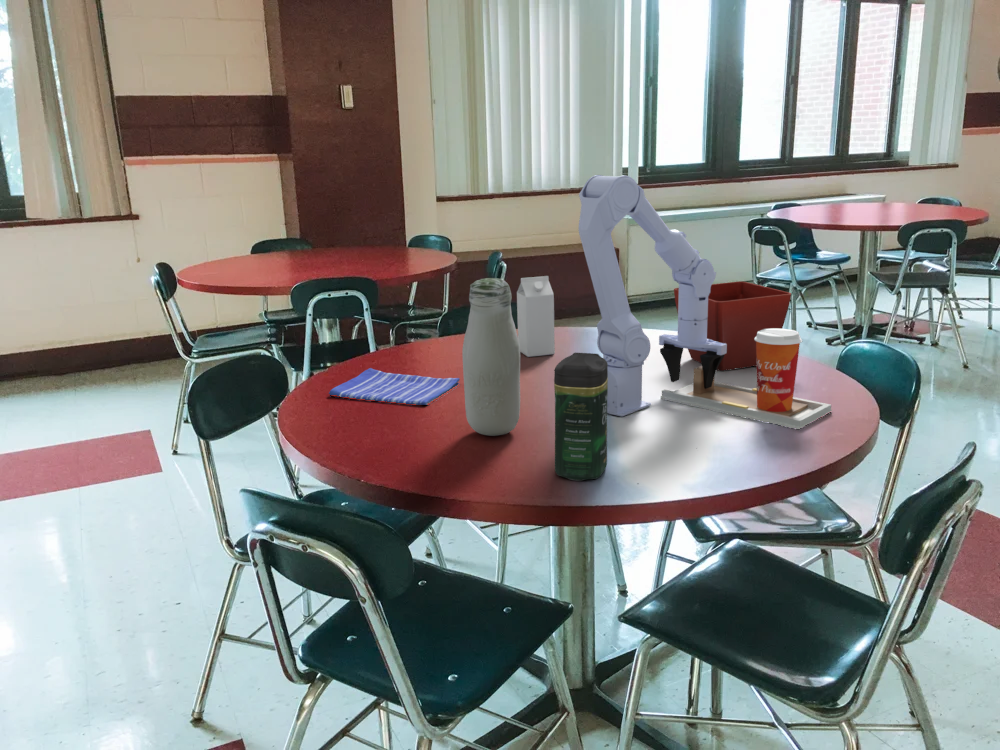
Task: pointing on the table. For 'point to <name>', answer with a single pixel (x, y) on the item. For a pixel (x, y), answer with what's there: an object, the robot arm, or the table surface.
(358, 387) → the dish towel
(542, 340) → the milk carton
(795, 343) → the coffee cup
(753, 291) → the plant pot
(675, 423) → the table surface
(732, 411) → the board
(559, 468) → the coffee jar
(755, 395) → the wooden l-shaped board
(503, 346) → the glass bottle
